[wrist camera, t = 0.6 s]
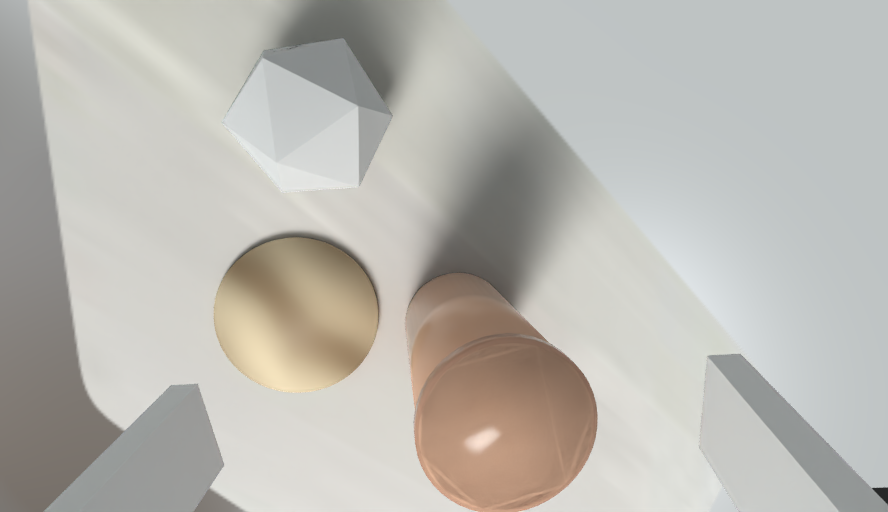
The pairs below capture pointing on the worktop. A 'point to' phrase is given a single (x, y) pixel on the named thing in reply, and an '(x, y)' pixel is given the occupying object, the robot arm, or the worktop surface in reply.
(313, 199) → the worktop surface
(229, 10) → the worktop surface
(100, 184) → the worktop surface
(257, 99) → the die
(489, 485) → the jar
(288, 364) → the disc
